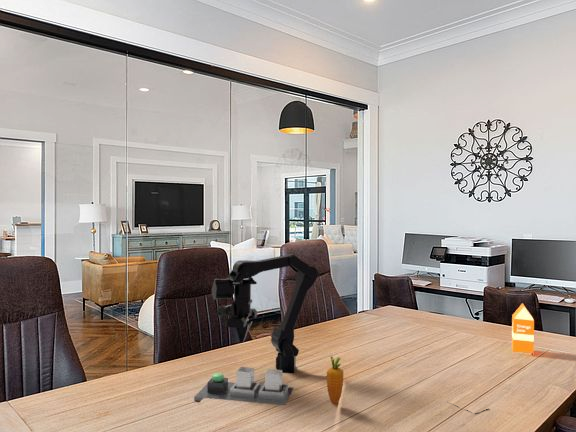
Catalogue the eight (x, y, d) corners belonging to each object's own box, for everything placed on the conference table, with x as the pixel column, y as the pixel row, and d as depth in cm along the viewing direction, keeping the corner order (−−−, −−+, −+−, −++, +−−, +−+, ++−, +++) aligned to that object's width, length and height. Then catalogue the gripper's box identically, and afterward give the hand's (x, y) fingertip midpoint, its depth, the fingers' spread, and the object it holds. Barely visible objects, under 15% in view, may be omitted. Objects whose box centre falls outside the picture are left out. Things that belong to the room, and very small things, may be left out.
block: (282, 392, 147) (282, 370, 147) (279, 397, 143) (279, 374, 143) (268, 391, 148) (268, 368, 148) (264, 396, 144) (265, 373, 144)
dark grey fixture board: (293, 391, 151) (293, 378, 151) (285, 409, 138) (285, 394, 138) (210, 384, 157) (210, 371, 157) (194, 400, 143) (194, 386, 143)
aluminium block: (253, 389, 149) (254, 367, 149) (250, 395, 145) (250, 372, 144) (240, 388, 150) (240, 366, 150) (236, 394, 145) (236, 371, 145)
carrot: (325, 403, 142) (325, 353, 142) (341, 403, 142) (342, 353, 142) (327, 410, 137) (328, 358, 137) (344, 410, 138) (345, 358, 137)
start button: (225, 378, 150) (225, 373, 150) (221, 382, 147) (221, 377, 147) (214, 377, 151) (214, 372, 151) (210, 381, 147) (210, 376, 147)
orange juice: (512, 353, 195) (513, 305, 195) (511, 348, 204) (512, 302, 203) (533, 356, 192) (534, 307, 192) (531, 350, 201) (532, 303, 200)
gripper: (228, 291, 174) (227, 334, 174) (210, 301, 156) (210, 348, 156) (257, 293, 172) (257, 336, 172) (243, 302, 154) (242, 350, 154)
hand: (241, 342), depth 164 cm, fingers closed
